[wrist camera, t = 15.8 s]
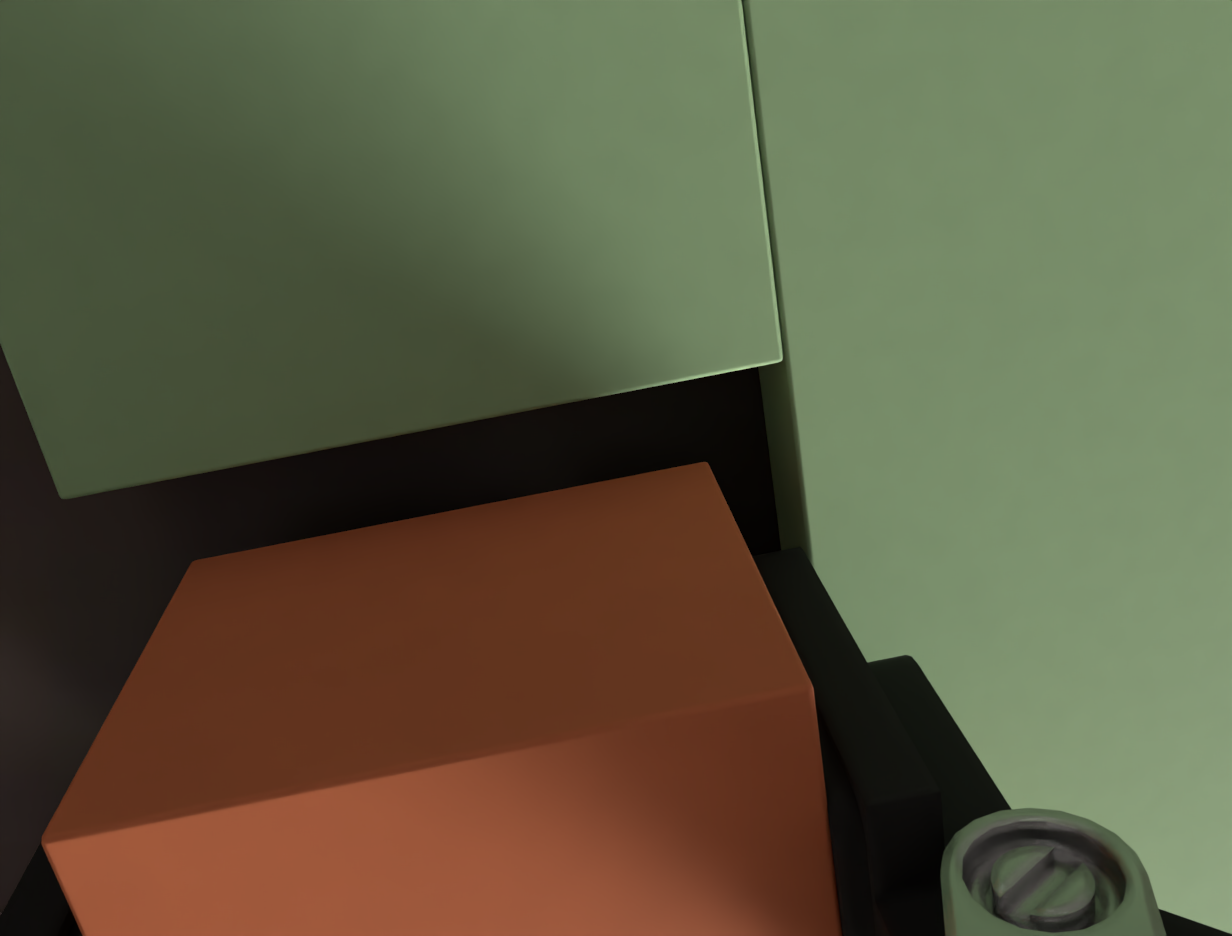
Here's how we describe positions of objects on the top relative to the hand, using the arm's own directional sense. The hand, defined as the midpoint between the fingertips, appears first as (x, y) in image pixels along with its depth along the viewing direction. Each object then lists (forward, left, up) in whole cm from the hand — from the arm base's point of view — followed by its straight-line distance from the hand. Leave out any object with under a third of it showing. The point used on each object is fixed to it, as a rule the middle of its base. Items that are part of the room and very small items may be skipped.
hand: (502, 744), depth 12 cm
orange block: (0, 0, 0) cm, 0 cm away
